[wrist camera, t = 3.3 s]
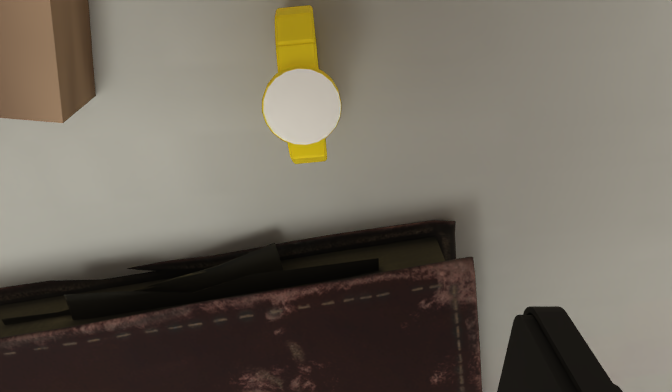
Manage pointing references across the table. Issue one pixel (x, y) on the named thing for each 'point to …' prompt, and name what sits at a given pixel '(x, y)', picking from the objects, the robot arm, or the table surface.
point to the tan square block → (45, 59)
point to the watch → (300, 89)
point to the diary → (258, 321)
